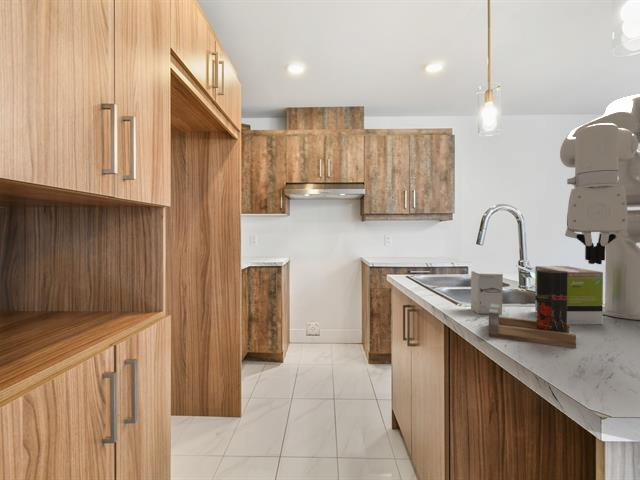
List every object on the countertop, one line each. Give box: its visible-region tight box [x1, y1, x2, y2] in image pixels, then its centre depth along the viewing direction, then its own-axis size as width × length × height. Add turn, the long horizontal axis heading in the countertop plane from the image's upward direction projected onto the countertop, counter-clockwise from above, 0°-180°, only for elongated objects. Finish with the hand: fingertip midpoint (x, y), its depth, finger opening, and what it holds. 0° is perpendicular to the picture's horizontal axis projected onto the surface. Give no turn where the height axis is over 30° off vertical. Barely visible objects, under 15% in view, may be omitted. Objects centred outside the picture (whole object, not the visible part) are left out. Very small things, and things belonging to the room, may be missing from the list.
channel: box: [488, 303, 577, 349], centre depth 82 cm, size 12×17×6 cm
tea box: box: [534, 265, 604, 325], centre depth 98 cm, size 15×10×15 cm, turn 177°
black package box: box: [536, 270, 568, 333], centre depth 79 cm, size 6×6×15 cm
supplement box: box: [470, 270, 504, 316], centre depth 106 cm, size 7×7×13 cm
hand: (594, 263), depth 75 cm, fingers closed
